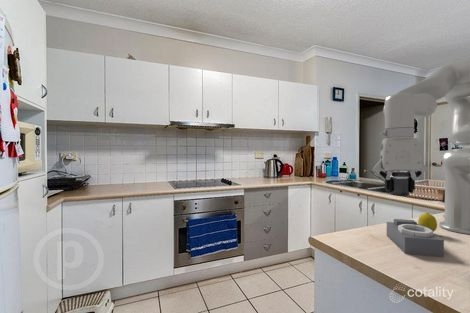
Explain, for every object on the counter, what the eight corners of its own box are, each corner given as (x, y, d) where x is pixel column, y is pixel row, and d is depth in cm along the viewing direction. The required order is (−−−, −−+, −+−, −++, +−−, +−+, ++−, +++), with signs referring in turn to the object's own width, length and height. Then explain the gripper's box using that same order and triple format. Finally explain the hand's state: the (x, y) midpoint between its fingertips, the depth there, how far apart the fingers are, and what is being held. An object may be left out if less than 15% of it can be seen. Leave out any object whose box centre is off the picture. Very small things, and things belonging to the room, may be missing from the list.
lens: (387, 192, 79) (387, 171, 78) (405, 193, 77) (405, 171, 77) (393, 195, 74) (393, 173, 73) (412, 196, 72) (412, 173, 72)
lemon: (414, 231, 93) (415, 210, 92) (431, 231, 91) (431, 211, 91) (423, 236, 87) (423, 214, 87) (440, 237, 86) (440, 215, 86)
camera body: (386, 235, 88) (386, 217, 88) (418, 237, 86) (418, 219, 86) (404, 253, 73) (404, 232, 73) (443, 256, 70) (444, 235, 70)
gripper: (372, 135, 73) (372, 193, 74) (438, 132, 69) (438, 195, 70) (365, 135, 81) (366, 189, 81) (425, 133, 76) (425, 190, 77)
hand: (399, 191), depth 75 cm, fingers closed on lens, 5 cm apart
